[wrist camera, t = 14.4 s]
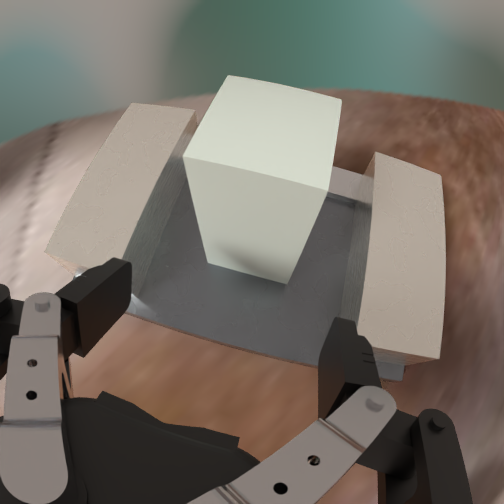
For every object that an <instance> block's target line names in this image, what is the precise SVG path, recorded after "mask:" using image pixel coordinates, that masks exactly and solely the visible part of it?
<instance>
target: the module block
mask: <svg viewBox="0 0 504 504" xmlns="http://www.w3.org/2000/svg"><path fill="white" fill-rule="evenodd" d="M341 105H342V100H341V99H338V98H334V97H330V96H327V95H323V94H319V93H315V92H311V91H307V90H303V89H299V88H295V87H290V86H285V85H281V84H276V83H271V82H266V81H261V80H255V79H249V78H244V77H238V76H231V75H228V76H227V78H226V79H225V81H224V83H223V85H222V86H221V88H220V89H219V91H218V93H217V95H216V96H215V98H214V100H213V101H212V103H211V105H210V107H209V108H208V110H207V112H206V114H205V115H204V117H203V119H202V121H201V123H200V124H199V126H198V128H197V130H196V132H195V134H194V136H193V137H192V139H191V141H190V143H189V145H188V147H187V149H186V151H185V153H184V154H183V160H184V165H185V169H186V174H187V178H188V183H189V187H190V192H191V196H192V200H193V204H194V209H195V213H196V217H197V221H198V225H199V230H200V234H201V238H202V242H203V246H204V250H205V254H206V258H207V262H208V263H210V264H214V265H218V266H221V267H225V268H228V269H232V270H236V271H239V272H243V273H247V274H250V275H254V276H258V277H261V278H265V279H269V280H273V281H276V282H280V283H284V284H288V282H289V279H290V277H291V275H292V273H293V271H294V268H295V266H296V264H297V262H298V259H299V257H300V255H301V253H302V250H303V248H304V246H305V244H306V241H307V239H308V237H309V235H310V232H311V230H312V228H313V225H314V223H315V221H316V218H317V216H318V214H319V211H320V209H321V207H322V204H323V202H324V199H325V197H326V195H327V192H328V189H329V183H330V177H331V171H332V165H333V159H334V153H335V146H336V140H337V133H338V126H339V119H340V112H341Z"/></svg>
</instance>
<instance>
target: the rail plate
mask: <svg viewBox="0 0 504 504" xmlns="http://www.w3.org/2000/svg"><path fill="white" fill-rule="evenodd" d="M197 128H198V126H197V118H196V111H195V110H193V109H185V108H178V107H170V106H161V105H152V104H141V103H131V104H130V106H129V107H128V108H127V110H126V111H125V112H124V114H123V115H122V117H121V118H120V120H119V121H118V122H117V124H116V125H115V127H114V128H113V130H112V131H111V133H110V134H109V136H108V137H107V139H106V140H105V142H104V143H103V145H102V146H101V148H100V150H99V151H98V153H97V154H96V156H95V158H94V159H93V161H92V162H91V164H90V166H89V167H88V169H87V171H86V172H85V174H84V176H83V178H82V179H81V181H80V183H79V185H78V186H77V188H76V190H75V192H74V194H73V195H72V197H71V199H70V201H69V203H68V205H67V207H66V209H65V210H64V212H63V214H62V216H61V218H60V220H59V222H58V224H57V226H56V228H55V231H54V233H53V235H52V237H51V239H50V241H49V243H48V245H47V248H46V250H45V253H46V254H48V255H49V256H50V257H51V258H53V259H54V260H55V261H56V262H58V263H59V264H60V265H61V266H63V267H64V268H65V269H66V270H68V271H69V272H70V273H72V274H73V275H74V278H73V280H72V281H74V279H75V278H77V277H78V276H81V274H82V273H83V272H85V271H86V270H88V269H90V268H93V267H96V266H99V265H103V264H104V263H105V262H107V261H108V260H110V259H111V258H113V257H115V258H119V259H122V260H125V261H129V262H131V264H132V292H131V302H130V305H129V307H128V309H127V310H126V312H125V314H128V315H131V316H134V317H137V318H139V319H142V320H145V321H148V322H151V323H154V324H157V325H160V326H163V327H166V328H169V329H172V330H175V331H178V332H181V333H185V334H188V335H191V336H194V337H198V338H201V339H204V340H208V341H211V342H214V343H218V344H221V345H225V346H228V347H232V348H236V349H239V350H243V351H247V352H251V353H254V354H258V355H262V356H266V357H270V358H274V359H278V360H283V361H287V362H291V363H295V364H300V365H304V366H309V367H313V368H318V361H319V356H320V352H321V349H322V346H323V344H324V342H325V339H326V337H327V334H328V332H329V329H330V327H331V324H332V322H333V320H334V318H335V317H340V318H344V319H349V320H353V321H355V323H356V328H357V332H358V335H361V336H365V337H366V339H367V340H368V341H369V343H370V344H371V345H372V349H373V353H374V357H375V361H376V363H375V364H376V365H377V370H378V374H379V378H380V380H383V381H389V382H397V381H402V378H403V372H404V366H405V365H411V364H416V363H421V362H427V361H431V360H436V359H439V357H440V349H441V340H442V330H443V318H444V303H445V278H446V242H445V217H444V202H443V190H442V180H441V175H439V174H437V173H434V172H431V171H429V170H426V169H424V168H421V167H418V166H416V165H413V164H410V163H407V162H405V161H402V160H399V159H396V158H393V157H390V156H387V155H384V154H381V153H378V152H375V153H374V155H373V157H372V159H371V161H370V163H369V165H368V167H367V169H366V171H365V173H364V175H362V174H358V173H355V172H352V171H348V170H345V169H341V168H338V167H334V166H332V171H331V177H330V183H329V189H328V192H327V195H326V197H325V199H324V202H323V204H322V207H321V209H320V211H319V214H318V216H317V218H316V221H315V223H314V225H313V228H312V230H311V232H310V235H309V237H308V239H307V241H306V244H305V246H304V248H303V250H302V253H301V255H300V257H299V259H298V262H297V264H296V266H295V268H294V271H293V273H292V275H291V277H290V279H289V282H288V284H284V283H280V282H276V281H273V280H269V279H265V278H261V277H258V276H254V275H250V274H247V273H243V272H239V271H236V270H232V269H228V268H225V267H221V266H218V265H214V264H210V263H208V262H207V258H206V254H205V250H204V246H203V242H202V238H201V234H200V230H199V225H198V221H197V217H196V213H195V209H194V204H193V200H192V196H191V192H190V187H189V183H188V178H187V174H186V169H185V165H184V160H183V154H184V153H185V151H186V149H187V147H188V145H189V143H190V141H191V139H192V137H193V136H194V134H195V132H196V130H197Z"/></svg>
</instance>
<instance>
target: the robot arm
mask: <svg viewBox="0 0 504 504" xmlns="http://www.w3.org/2000/svg"><path fill="white" fill-rule="evenodd" d="M131 292H132V264H131V262H129V261H125V260H122V259H119V258H115V257H113V258H111V259H110V260H108V261H107V262H105V263H104V264H103V265H99V266H96V267H93V268H90V269H88V270H86V271H85V272H83V273H82V274H81V276H78V277H77V278H75V279H74V281H71V282H70V283H68V284H67V285H66V286H64V287H63V288H62V289H60V290H59V291H58V292H56V293H55V294H52V293H46V292H43V293H36V294H33V295H31V296H29V297H28V298H27V299H26V300H25V301H19V300H14V299H11V297H10V291H9V288H8V287H7V286H5V285H3V284H0V380H1V379H2V378H3V377H4V376H5V374H6V373H7V376H6V387H5V401H4V416H1V417H0V504H316V503H317V502H318V501H319V500H320V499H321V498H322V497H323V496H324V495H325V494H326V493H327V492H328V491H329V490H330V489H331V488H332V487H333V486H334V485H335V484H336V483H337V482H338V481H339V480H340V479H341V478H342V477H343V476H344V475H345V474H346V473H347V472H348V470H349V469H350V468H351V467H352V466H353V465H354V464H355V463H358V464H360V465H363V466H366V467H368V468H371V469H374V470H377V473H378V504H473V503H472V497H471V492H470V487H469V483H468V478H467V473H466V469H465V465H464V461H463V457H462V453H461V449H460V445H459V442H458V438H457V434H456V431H455V427H454V424H453V422H452V420H451V419H450V418H449V417H448V416H447V415H446V414H445V413H443V412H442V411H439V410H437V409H426V410H424V411H422V412H421V413H420V415H419V416H418V417H415V416H412V415H410V414H407V413H404V412H402V411H399V410H398V409H396V402H395V400H394V398H393V397H392V396H391V395H390V394H389V393H388V392H387V391H385V390H383V389H382V387H381V383H380V378H379V374H378V370H377V365H376V364H375V363H376V361H375V357H374V353H373V349H372V345H371V344H370V343H369V341H368V340H367V339H366V337H365V336H361V335H358V332H357V328H356V323H355V321H353V320H349V319H344V318H340V317H335V318H334V320H333V322H332V324H331V327H330V329H329V332H328V334H327V337H326V339H325V342H324V344H323V346H322V349H321V352H320V356H319V361H318V420H316V421H315V422H314V423H313V424H311V425H310V426H309V427H308V428H306V429H305V430H304V431H303V432H301V433H300V434H299V435H298V436H296V437H295V438H294V439H292V440H291V441H290V442H288V443H287V444H286V445H285V446H283V447H282V448H281V449H279V450H278V451H276V452H275V453H274V454H272V455H271V456H270V457H268V458H267V459H265V460H264V461H262V462H260V461H258V460H257V459H256V458H255V457H253V456H252V455H250V454H249V453H247V452H245V451H244V450H242V449H240V448H238V447H237V446H238V442H239V438H240V437H236V436H232V435H228V434H224V433H220V432H217V431H213V430H209V429H206V428H200V427H190V426H181V425H173V424H166V423H163V422H161V421H159V420H158V419H156V418H154V417H153V416H151V415H150V414H148V413H147V412H145V411H144V410H142V409H140V408H139V407H137V406H136V405H134V404H133V403H130V402H128V401H126V400H123V399H121V398H118V397H116V396H114V395H111V394H109V393H107V392H104V391H102V392H101V394H100V395H99V396H98V398H97V399H94V398H80V397H78V398H74V395H73V386H72V376H71V364H70V358H69V356H70V355H71V354H72V353H75V354H77V355H79V356H81V357H83V358H84V357H85V356H86V355H87V354H88V352H89V351H90V350H91V349H92V348H93V347H94V346H95V345H96V343H97V342H98V341H99V340H100V339H101V338H102V337H103V336H104V335H105V333H106V332H107V331H108V330H109V329H110V328H111V327H112V326H113V325H114V324H115V322H116V321H117V320H118V319H119V318H120V317H121V316H122V315H123V314H124V313H125V312H126V310H127V309H128V307H129V305H130V302H131Z"/></svg>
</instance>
